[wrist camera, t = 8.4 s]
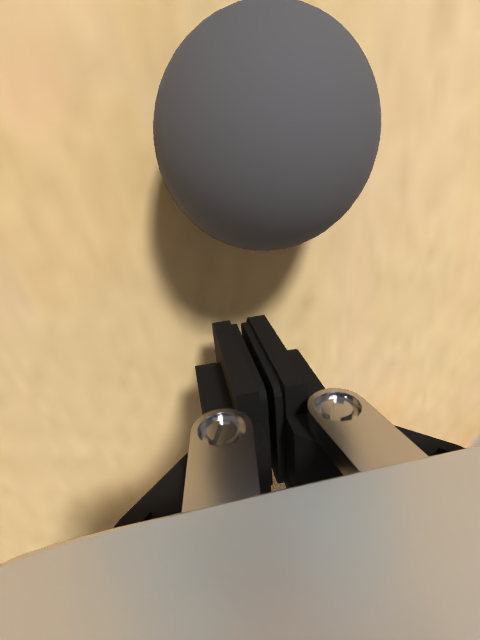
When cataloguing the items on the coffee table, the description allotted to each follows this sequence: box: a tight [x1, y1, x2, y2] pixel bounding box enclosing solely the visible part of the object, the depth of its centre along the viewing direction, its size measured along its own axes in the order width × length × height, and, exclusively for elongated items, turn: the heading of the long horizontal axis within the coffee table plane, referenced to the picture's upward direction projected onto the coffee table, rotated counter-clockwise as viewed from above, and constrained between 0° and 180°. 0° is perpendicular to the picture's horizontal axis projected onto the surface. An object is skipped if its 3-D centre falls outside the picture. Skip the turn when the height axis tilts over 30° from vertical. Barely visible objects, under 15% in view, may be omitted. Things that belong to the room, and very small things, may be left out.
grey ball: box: [153, 0, 381, 251], centre depth 9 cm, size 5×5×5 cm
